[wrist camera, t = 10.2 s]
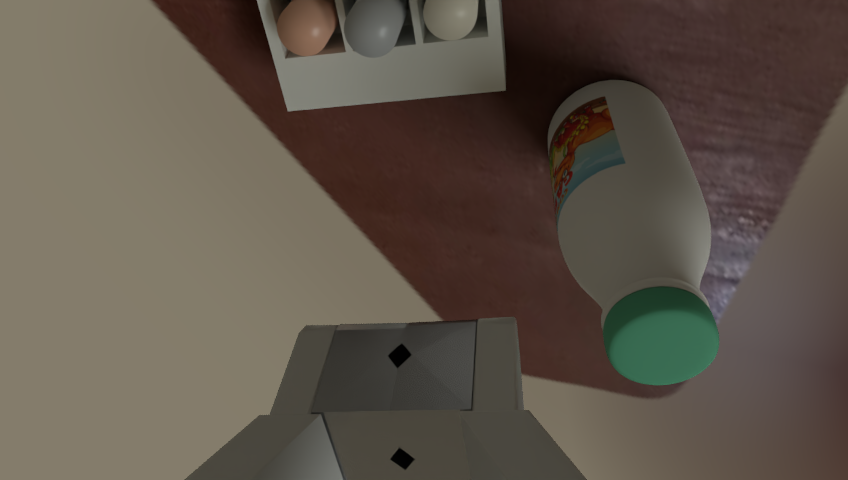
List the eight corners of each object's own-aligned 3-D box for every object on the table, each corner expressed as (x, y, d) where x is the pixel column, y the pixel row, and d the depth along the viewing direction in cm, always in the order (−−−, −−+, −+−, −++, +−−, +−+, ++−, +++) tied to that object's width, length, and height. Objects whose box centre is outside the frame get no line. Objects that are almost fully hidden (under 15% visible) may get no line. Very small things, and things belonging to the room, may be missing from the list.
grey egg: (354, -19, 38) (338, 6, 34) (404, -25, 37) (392, 0, 34) (364, 31, 39) (349, 60, 36) (411, 26, 39) (402, 54, 35)
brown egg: (292, -17, 40) (270, 7, 36) (338, -22, 39) (321, 1, 35) (304, 31, 41) (284, 58, 38) (348, 26, 41) (333, 53, 37)
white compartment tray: (263, -85, 39) (237, -67, 35) (492, -118, 36) (490, -103, 33) (305, 81, 44) (287, 111, 41) (506, 60, 42) (505, 90, 39)
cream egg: (427, -34, 38) (419, -11, 35) (477, -40, 38) (474, -17, 34) (434, 16, 40) (427, 43, 36) (482, 10, 39) (479, 37, 36)
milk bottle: (645, 55, 41) (735, 253, 25) (683, 156, 45) (782, 386, 29) (527, 106, 44) (540, 316, 28) (572, 198, 47) (606, 430, 31)
